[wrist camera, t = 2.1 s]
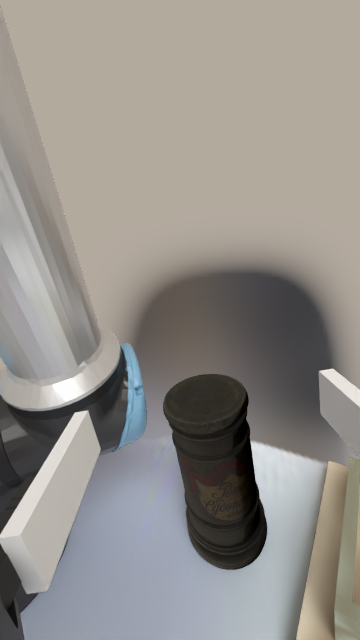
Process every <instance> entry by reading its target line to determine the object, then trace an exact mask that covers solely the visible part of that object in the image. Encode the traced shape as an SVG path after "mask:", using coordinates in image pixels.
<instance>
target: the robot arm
mask: <svg viewBox="0 0 360 640" xmlns="http://www.w3.org/2000/svg"><path fill="white" fill-rule="evenodd" d="M0 357H1V358H2V360H3V361H4V365H3V367H2V369H1V371H0V640H24V635H23V629H22V623H21V618H20V612H21V611H22V610H23V609H24V608H25V607H26V606H27V605H28V604H29V603H30V602H31V601H32V600H33V599H34V597H35V596H36V595H37V594H38V593H39V592H46V591H48V589H49V586H50V584H51V581H52V578H53V576H54V573H55V570H56V568H57V565H58V562H59V560H60V558H61V556H62V554H63V552H64V549H65V546H66V543H67V539H68V536H69V533H70V530H71V528H72V525H73V522H74V520H75V517H76V514H77V512H78V509H79V506H80V504H81V501H82V498H83V496H84V493H85V490H86V488H87V485H88V482H89V480H90V477H91V474H92V472H93V469H94V466H95V464H96V461H97V458H98V456H100V455H103V454H106V453H108V452H114V451H117V450H119V449H120V448H121V447H122V446H124V445H127V444H129V443H131V442H133V441H136V440H137V439H139V438H140V437H141V436H142V435H143V433H144V431H145V428H146V424H147V410H146V400H145V394H144V391H143V384H142V376H141V372H140V368H139V364H138V360H137V357H136V355H135V352H134V350H133V348H132V346H131V345H130V344H128V343H119V341H118V339H117V338H116V337H115V335H114V334H113V333H112V332H111V331H109V330H108V329H106V328H104V327H101V326H99V325H98V322H97V319H96V316H95V313H94V309H93V306H92V303H91V299H90V296H89V293H88V290H87V286H86V283H85V280H84V276H83V273H82V270H81V267H80V264H79V260H78V257H77V254H76V251H75V247H74V244H73V241H72V237H71V234H70V231H69V228H68V225H67V221H66V218H65V215H64V211H63V208H62V205H61V202H60V199H59V195H58V192H57V189H56V185H55V182H54V179H53V176H52V172H51V169H50V166H49V163H48V159H47V156H46V153H45V150H44V146H43V143H42V140H41V137H40V133H39V130H38V127H37V124H36V120H35V117H34V114H33V111H32V107H31V104H30V101H29V98H28V94H27V91H26V88H25V85H24V81H23V78H22V75H21V71H20V68H19V65H18V62H17V59H16V55H15V52H14V49H13V45H12V42H11V39H10V36H9V33H8V30H7V26H6V23H5V19H4V16H3V13H2V10H1V6H0ZM319 387H320V412H321V414H322V416H323V417H324V418H325V419H326V420H327V421H328V423H329V424H330V425H331V426H332V427H333V429H334V430H335V431H336V432H337V433H338V434H339V436H340V437H341V438H342V439H343V440H344V441H345V443H346V444H347V445H348V446H349V447H350V448H351V450H352V451H353V452H354V453H355V454H356V455H357V457H358V458H359V459H360V390H359V389H358V388H357V387H355V386H354V385H353V384H352V383H350V382H349V381H348V380H346V379H345V378H344V377H343V376H341V375H340V374H339V373H338V372H336V371H335V370H334V369H328V370H323V371H319Z"/></svg>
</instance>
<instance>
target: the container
mask: <svg viewBox="0 0 360 640" xmlns="http://www.w3.org/2000/svg"><path fill="white" fill-rule="evenodd" d="M247 406H248V395H247V392H246V390H245V388H244V386H243V385H242V384H241V383H240V382H239V381H237V380H236V379H234V378H231V377H229V376H225V375H219V374H205V375H198V376H194V377H190V378H188V379H185V380H183V381H181V382H179V383H178V384H176V385H175V386H173V387H172V388H171V389H170V390H169V391H168V393H167V394H166V396H165V399H164V403H163V411H164V414H165V417H166V419H167V420H168V422H169V425H170V427H171V428H172V430H173V433H172V439H173V443H174V445H175V447H176V452H177V457H178V461H179V465H180V469H181V474H182V479H183V483H184V488H185V501H186V505H187V509H186V517H187V526H188V532H189V536H190V539H191V542H192V544H193V546H194V547H195V549H196V550H197V552H198V553H199V554H200V555H201V556H202V557H203V558H204V559H205V560H206V561H207V562H209V563H210V564H212V565H214V566H216V567H219V568H222V569H240V568H243V567H245V566H247V565H249V564H251V563H252V562H253V561H254V560H255V559H256V558H257V557H258V556H259V555H260V553H261V551H262V549H263V547H264V544H265V541H266V536H267V523H266V518H265V515H264V509H263V505H262V503H261V501H260V499H259V490H258V486H257V484H256V481H255V473H254V466H253V459H252V450H251V443H250V428H249V424H248V422H247V420H246V416H247Z"/></svg>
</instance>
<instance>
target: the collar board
mask: <svg viewBox="0 0 360 640" xmlns="http://www.w3.org/2000/svg"><path fill="white" fill-rule="evenodd" d="M296 640H360V460H359V459H355V458H352V457H350V461H349V467H347V466H344V465H341V464H338V463H334V462H331V461H329V462H328V468H327V473H326V479H325V484H324V490H323V495H322V501H321V506H320V511H319V517H318V522H317V528H316V533H315V539H314V544H313V550H312V555H311V560H310V566H309V571H308V577H307V582H306V588H305V593H304V598H303V604H302V609H301V615H300V620H299V626H298V631H297V637H296Z"/></svg>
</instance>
